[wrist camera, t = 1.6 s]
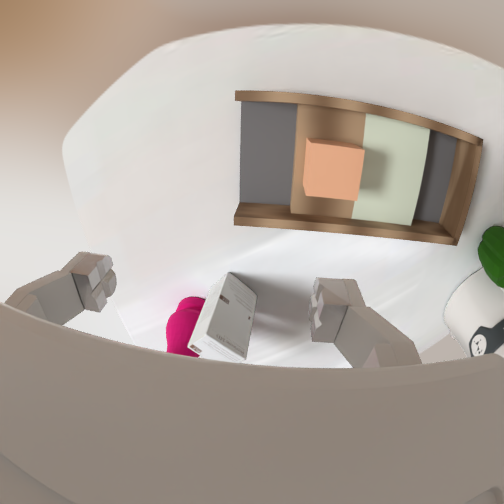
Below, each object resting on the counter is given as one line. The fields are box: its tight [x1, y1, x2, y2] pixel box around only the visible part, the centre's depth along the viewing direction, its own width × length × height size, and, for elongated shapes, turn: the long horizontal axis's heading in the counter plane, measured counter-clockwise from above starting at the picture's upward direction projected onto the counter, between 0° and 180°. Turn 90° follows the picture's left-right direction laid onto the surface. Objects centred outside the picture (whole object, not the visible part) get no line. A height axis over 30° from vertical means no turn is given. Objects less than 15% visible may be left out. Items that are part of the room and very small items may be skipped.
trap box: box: [234, 91, 483, 246], centre depth 27 cm, size 28×14×5 cm, turn 88°
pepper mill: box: [166, 297, 205, 358], centre depth 35 cm, size 7×7×20 cm
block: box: [303, 138, 365, 201], centre depth 25 cm, size 5×5×4 cm
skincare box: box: [188, 273, 257, 363], centre depth 35 cm, size 6×4×12 cm
